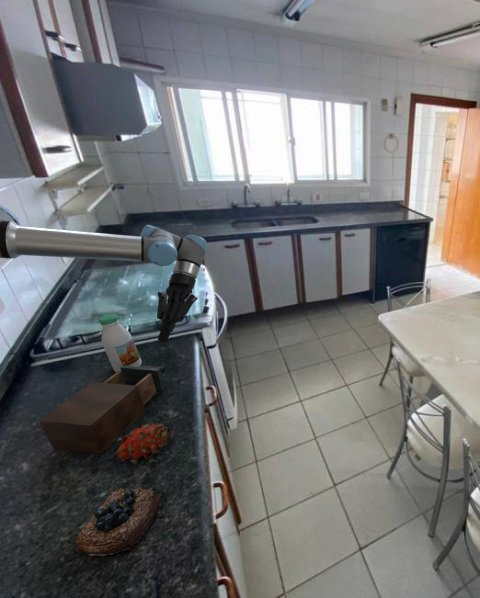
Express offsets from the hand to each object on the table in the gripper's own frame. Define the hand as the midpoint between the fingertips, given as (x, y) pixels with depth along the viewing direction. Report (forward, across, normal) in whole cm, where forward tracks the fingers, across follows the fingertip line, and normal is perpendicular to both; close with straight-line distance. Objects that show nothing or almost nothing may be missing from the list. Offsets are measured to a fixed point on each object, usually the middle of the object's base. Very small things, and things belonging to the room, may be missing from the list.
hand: (162, 340), depth 109 cm
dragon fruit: (+32, -17, +15) cm, 39 cm away
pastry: (+43, -25, +27) cm, 57 cm away
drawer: (+18, 0, +3) cm, 18 cm away
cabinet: (+27, 0, +10) cm, 29 cm away
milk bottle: (+9, +14, -8) cm, 18 cm away
